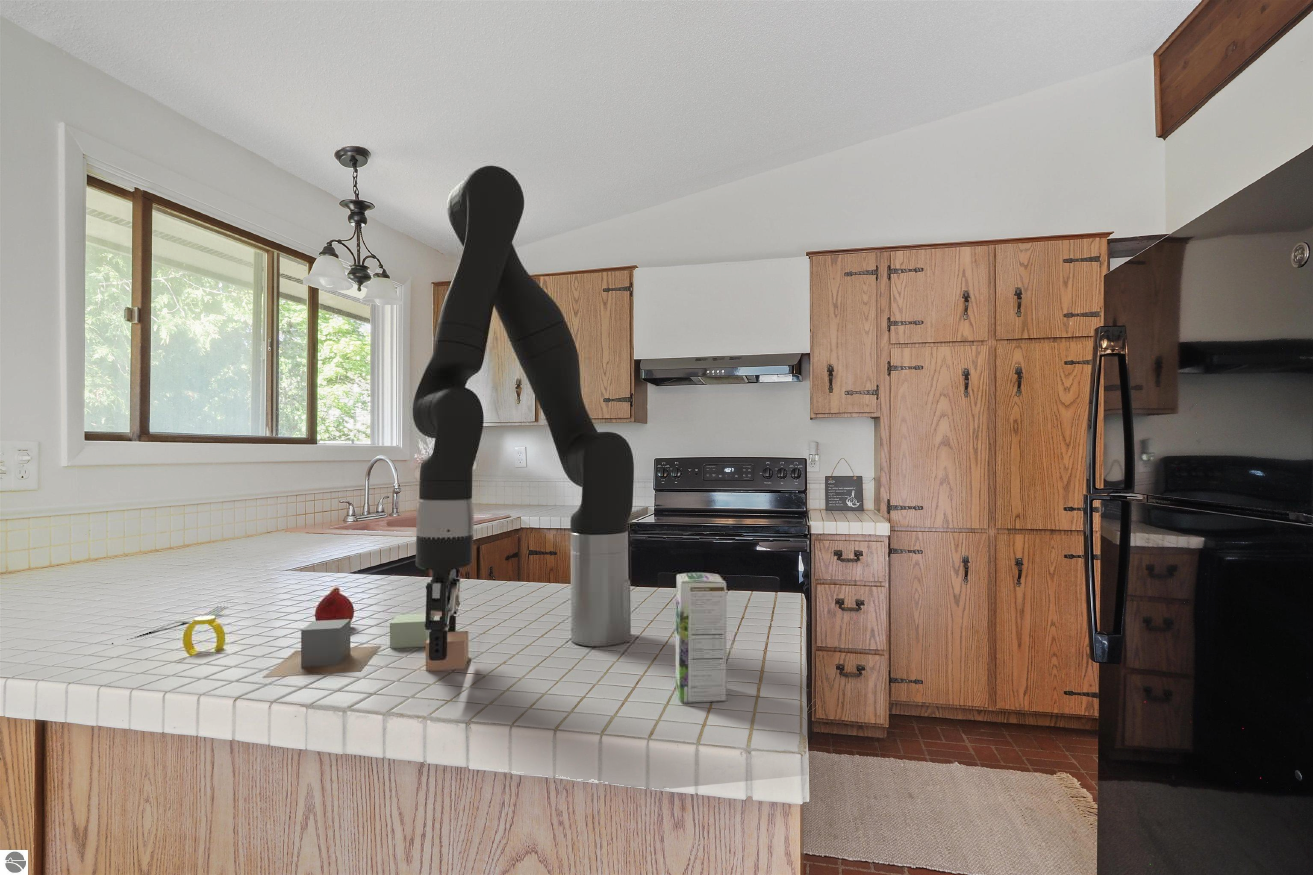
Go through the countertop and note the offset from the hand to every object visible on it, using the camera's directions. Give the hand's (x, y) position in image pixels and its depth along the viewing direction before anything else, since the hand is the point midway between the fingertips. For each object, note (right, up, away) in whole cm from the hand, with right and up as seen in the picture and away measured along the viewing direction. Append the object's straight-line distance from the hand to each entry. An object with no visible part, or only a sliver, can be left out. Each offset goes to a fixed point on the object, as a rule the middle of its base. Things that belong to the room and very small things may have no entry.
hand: (442, 650), depth 92 cm
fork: (-56, -5, +24) cm, 62 cm away
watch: (-38, -4, +8) cm, 39 cm away
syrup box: (+35, -3, -9) cm, 36 cm away
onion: (-24, -4, +19) cm, 31 cm away
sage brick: (-8, -3, +11) cm, 14 cm away
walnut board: (-17, -3, +2) cm, 17 cm away
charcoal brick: (-17, -2, +2) cm, 17 cm away
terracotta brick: (+1, -3, 0) cm, 3 cm away
